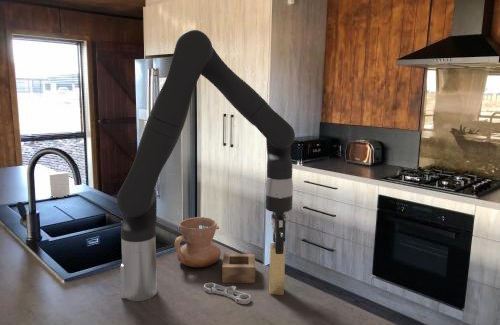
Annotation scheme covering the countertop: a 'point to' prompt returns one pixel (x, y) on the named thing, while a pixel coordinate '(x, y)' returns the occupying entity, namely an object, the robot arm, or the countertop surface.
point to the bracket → (230, 294)
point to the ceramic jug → (197, 242)
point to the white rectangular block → (59, 184)
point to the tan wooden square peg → (276, 271)
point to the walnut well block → (238, 268)
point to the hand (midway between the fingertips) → (278, 247)
